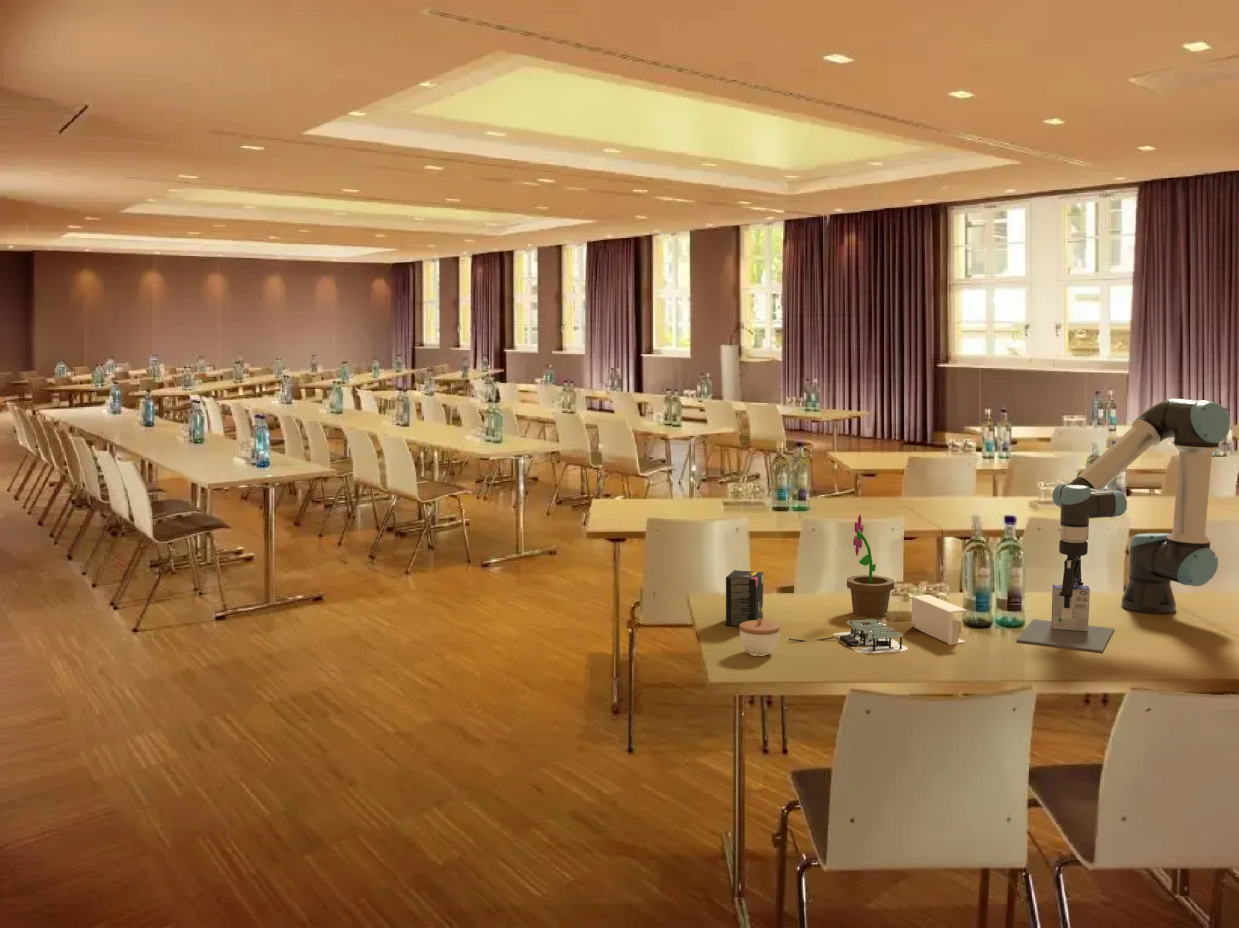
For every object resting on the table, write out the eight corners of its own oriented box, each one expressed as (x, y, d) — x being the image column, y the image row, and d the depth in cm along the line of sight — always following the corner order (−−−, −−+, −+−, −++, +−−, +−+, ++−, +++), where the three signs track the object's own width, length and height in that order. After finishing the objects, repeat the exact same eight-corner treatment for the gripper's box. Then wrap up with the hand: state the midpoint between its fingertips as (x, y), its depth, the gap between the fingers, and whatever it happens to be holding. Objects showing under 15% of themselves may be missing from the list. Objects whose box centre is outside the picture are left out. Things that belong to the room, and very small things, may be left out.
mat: (1033, 621, 338) (1033, 619, 338) (1113, 630, 327) (1114, 628, 327) (1016, 641, 316) (1016, 639, 316) (1102, 652, 305) (1102, 650, 305)
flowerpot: (851, 605, 357) (853, 510, 353) (898, 610, 351) (900, 513, 347) (840, 616, 344) (842, 518, 340) (888, 621, 338) (890, 521, 335)
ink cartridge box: (1087, 627, 328) (1089, 577, 327) (1088, 632, 323) (1091, 581, 321) (1050, 624, 331) (1052, 575, 329) (1051, 629, 326) (1053, 579, 324)
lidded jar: (784, 658, 302) (785, 623, 301) (745, 660, 301) (745, 625, 299) (772, 646, 313) (773, 613, 312) (734, 648, 311) (734, 615, 310)
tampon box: (756, 628, 331) (756, 579, 329) (724, 626, 334) (725, 577, 332) (763, 619, 342) (764, 571, 340) (733, 616, 345) (733, 569, 343)
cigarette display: (966, 643, 315) (967, 610, 314) (948, 645, 314) (949, 611, 313) (925, 625, 334) (926, 593, 333) (908, 626, 333) (909, 595, 331)
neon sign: (782, 623, 322) (879, 617, 328) (781, 638, 323) (878, 631, 329) (809, 644, 302) (912, 637, 308) (809, 659, 302) (912, 652, 308)
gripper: (1066, 531, 336) (1063, 602, 339) (1052, 546, 315) (1049, 621, 318) (1094, 534, 333) (1090, 605, 335) (1081, 549, 311) (1077, 625, 314)
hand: (1070, 613), depth 326 cm, fingers open, 13 cm apart
